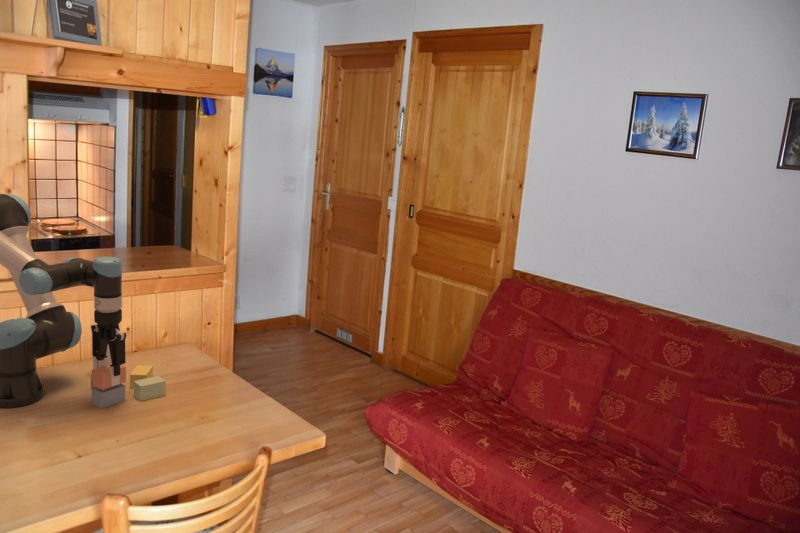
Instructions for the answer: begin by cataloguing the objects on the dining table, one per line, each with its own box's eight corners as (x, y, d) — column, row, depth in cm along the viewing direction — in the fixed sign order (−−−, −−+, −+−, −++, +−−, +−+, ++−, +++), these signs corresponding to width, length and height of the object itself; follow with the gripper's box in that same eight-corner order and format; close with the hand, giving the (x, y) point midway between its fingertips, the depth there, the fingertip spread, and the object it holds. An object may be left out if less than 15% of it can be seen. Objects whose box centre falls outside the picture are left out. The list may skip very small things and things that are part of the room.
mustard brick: (130, 388, 211) (130, 374, 210) (137, 379, 219) (137, 365, 218) (146, 389, 211) (146, 375, 210) (152, 379, 219) (152, 365, 218)
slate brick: (91, 403, 198) (91, 388, 197) (115, 395, 205) (115, 381, 204) (101, 408, 196) (101, 393, 195) (125, 400, 202) (125, 385, 201)
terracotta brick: (92, 385, 197) (91, 370, 196) (115, 377, 204) (114, 362, 203) (103, 389, 194) (102, 374, 193) (125, 381, 201) (125, 366, 200)
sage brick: (133, 395, 206) (133, 381, 205) (158, 390, 212) (158, 375, 211) (140, 401, 203) (140, 386, 202) (165, 395, 208) (165, 381, 207)
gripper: (77, 305, 195) (79, 378, 200) (116, 318, 186) (117, 394, 191) (100, 300, 202) (101, 371, 207) (138, 313, 193) (139, 386, 198)
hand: (109, 382), depth 199 cm, fingers closed on terracotta brick, 5 cm apart
